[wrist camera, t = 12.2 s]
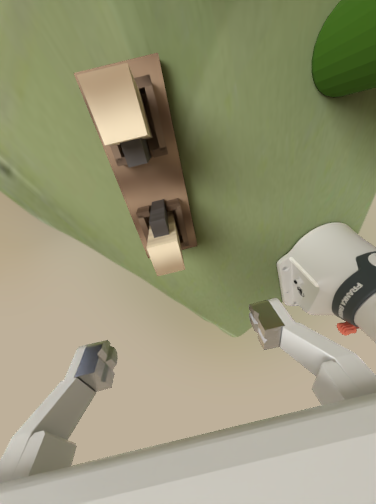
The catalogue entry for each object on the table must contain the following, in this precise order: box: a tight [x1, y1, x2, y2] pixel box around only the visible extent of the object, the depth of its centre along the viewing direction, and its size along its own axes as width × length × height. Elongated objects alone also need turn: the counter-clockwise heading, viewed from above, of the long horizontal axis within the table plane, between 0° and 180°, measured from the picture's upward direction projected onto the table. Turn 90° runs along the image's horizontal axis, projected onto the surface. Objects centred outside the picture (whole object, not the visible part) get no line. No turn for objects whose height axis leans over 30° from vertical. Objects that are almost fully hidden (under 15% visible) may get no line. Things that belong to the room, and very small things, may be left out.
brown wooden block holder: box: [74, 53, 197, 258], centre depth 21 cm, size 24×9×12 cm, turn 12°
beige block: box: [147, 199, 185, 276], centre depth 24 cm, size 6×3×10 cm, turn 12°
